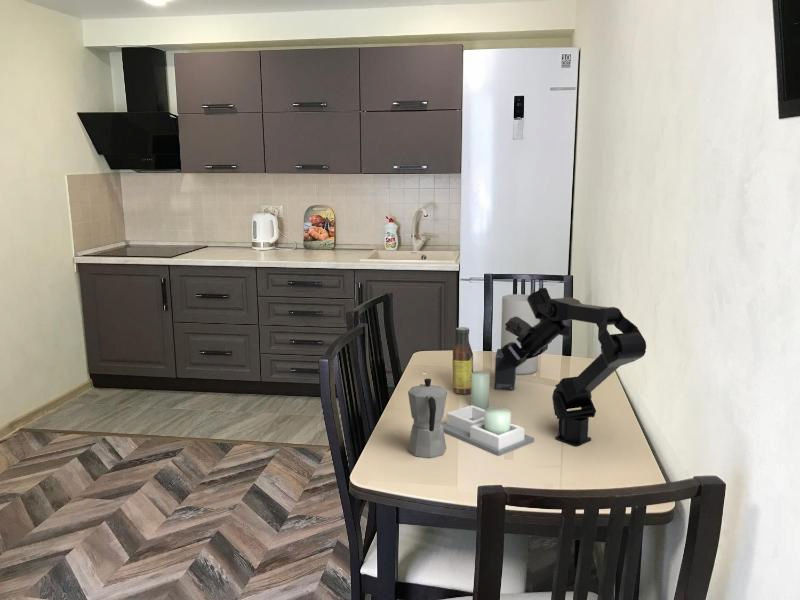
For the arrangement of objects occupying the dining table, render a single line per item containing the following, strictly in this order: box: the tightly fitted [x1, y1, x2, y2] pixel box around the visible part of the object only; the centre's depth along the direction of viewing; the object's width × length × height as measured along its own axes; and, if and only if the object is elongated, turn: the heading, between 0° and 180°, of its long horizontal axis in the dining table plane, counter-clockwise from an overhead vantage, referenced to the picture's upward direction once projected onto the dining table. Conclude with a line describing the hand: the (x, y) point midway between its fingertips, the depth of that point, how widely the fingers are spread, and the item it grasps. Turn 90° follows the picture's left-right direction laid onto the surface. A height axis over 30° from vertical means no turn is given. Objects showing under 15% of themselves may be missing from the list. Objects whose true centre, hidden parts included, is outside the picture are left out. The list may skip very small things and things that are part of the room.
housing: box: [442, 404, 535, 457], centre depth 165 cm, size 21×13×8 cm, turn 40°
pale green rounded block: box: [470, 370, 491, 410], centre depth 185 cm, size 5×5×10 cm
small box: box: [493, 348, 517, 391], centre depth 205 cm, size 11×6×10 cm, turn 168°
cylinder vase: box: [500, 293, 541, 376], centre depth 219 cm, size 12×12×25 cm
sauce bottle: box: [452, 326, 474, 395], centre depth 197 cm, size 6×6×20 cm
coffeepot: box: [407, 378, 448, 459], centre depth 154 cm, size 15×9×18 cm, turn 6°
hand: (504, 366), depth 179 cm, fingers open, 9 cm apart
